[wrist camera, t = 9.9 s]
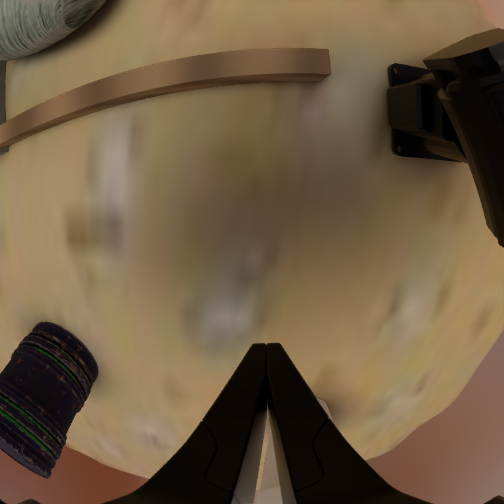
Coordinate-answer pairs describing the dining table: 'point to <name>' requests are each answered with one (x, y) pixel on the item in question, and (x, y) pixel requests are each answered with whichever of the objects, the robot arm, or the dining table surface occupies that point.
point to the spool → (39, 23)
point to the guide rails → (171, 84)
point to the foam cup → (274, 472)
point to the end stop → (2, 100)
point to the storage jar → (43, 395)
